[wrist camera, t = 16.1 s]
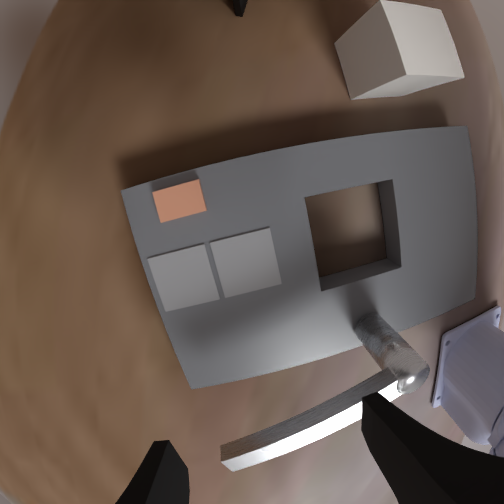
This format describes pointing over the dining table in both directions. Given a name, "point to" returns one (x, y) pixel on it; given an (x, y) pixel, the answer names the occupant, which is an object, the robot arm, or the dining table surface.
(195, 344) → the power strip
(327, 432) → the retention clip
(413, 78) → the plug
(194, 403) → the dining table surface
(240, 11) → the speaker
